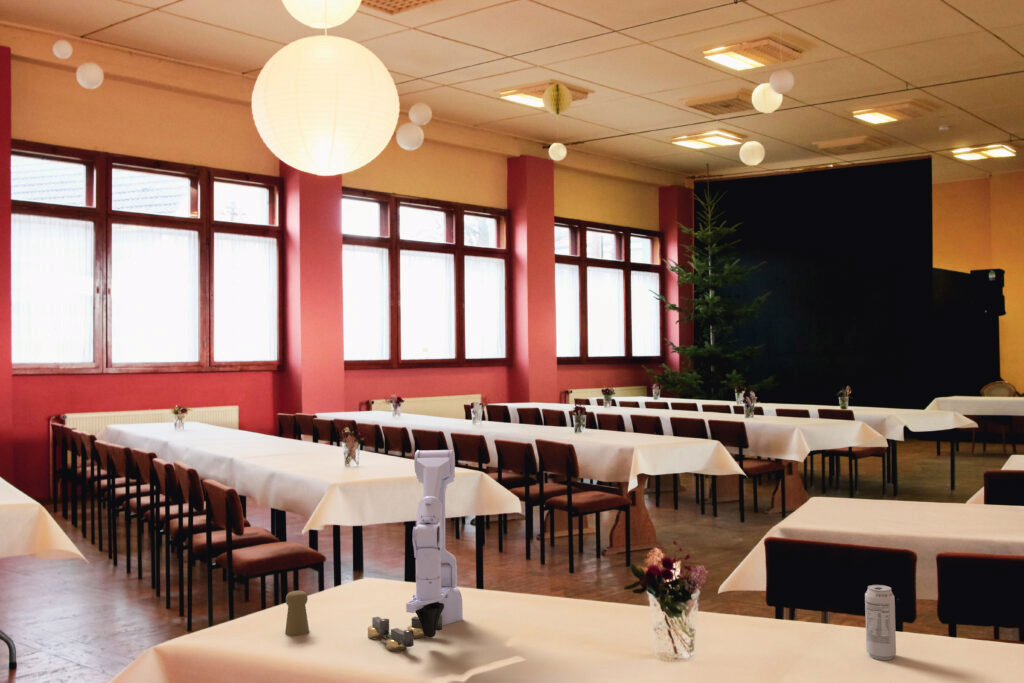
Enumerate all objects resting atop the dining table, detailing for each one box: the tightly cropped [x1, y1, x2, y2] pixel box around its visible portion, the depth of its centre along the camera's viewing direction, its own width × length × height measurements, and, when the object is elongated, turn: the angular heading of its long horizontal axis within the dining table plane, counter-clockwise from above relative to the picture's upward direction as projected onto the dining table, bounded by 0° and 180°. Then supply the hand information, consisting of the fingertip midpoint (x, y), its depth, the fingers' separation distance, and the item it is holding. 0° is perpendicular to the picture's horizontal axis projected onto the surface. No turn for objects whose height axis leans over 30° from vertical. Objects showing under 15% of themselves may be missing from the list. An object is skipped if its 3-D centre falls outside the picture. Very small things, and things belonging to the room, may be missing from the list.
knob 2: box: [386, 627, 415, 652], centre depth 204 cm, size 9×4×5 cm, turn 37°
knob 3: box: [407, 615, 443, 639], centre depth 214 cm, size 9×4×5 cm, turn 67°
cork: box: [284, 590, 310, 637], centre depth 220 cm, size 6×6×11 cm
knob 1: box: [367, 616, 390, 639], centre depth 214 cm, size 9×4×5 cm, turn 27°
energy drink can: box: [864, 584, 897, 661], centre depth 198 cm, size 6×6×15 cm
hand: (429, 636), depth 206 cm, fingers closed
